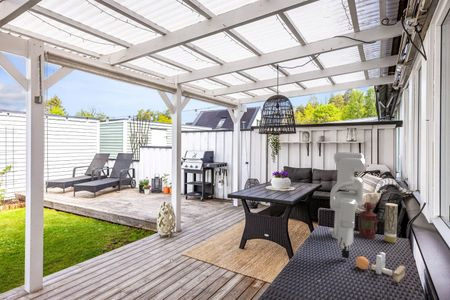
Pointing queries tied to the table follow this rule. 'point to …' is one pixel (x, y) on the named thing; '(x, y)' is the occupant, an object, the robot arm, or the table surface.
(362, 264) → the ball
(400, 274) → the back wall
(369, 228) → the lantern
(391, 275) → the front pin
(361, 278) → the table surface
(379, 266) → the back pin right
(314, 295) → the table surface
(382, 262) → the back pin left
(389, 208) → the paper tube
